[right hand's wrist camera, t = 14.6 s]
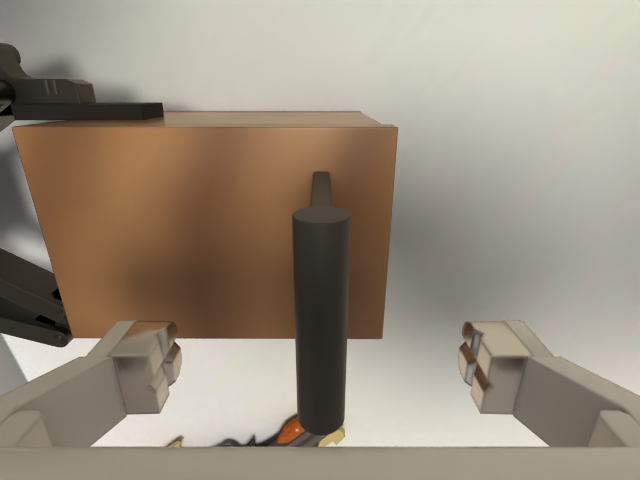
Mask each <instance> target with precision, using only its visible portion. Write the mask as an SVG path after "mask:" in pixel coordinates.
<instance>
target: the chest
mask: <svg viewBox="0 0 640 480" xmlns="http://www.w3.org/2000/svg"><path fill="white" fill-rule="evenodd" d="M163 112H164V117H158V118H152V119H146V120H66V121H57V122H49V123H40V124H224V125H382V124H380V123H378V122H376V121H375V120H373V119H371V118H369V117H368V116H366V115H364V114H362V113H361V112H360V111H163Z"/></svg>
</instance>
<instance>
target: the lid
mask: <svg viewBox="0 0 640 480" xmlns="http://www.w3.org/2000/svg"><path fill="white" fill-rule="evenodd" d="M12 130H13V134H14V137H15V141H16V144H17V148H18V151H19V154H20V158H21V161H22V165H23V168H24V172H25V175H26V178H27V182H28V185H29V189H30V192H31V196H32V199H33V202H34V206H35V209H36V213H37V216H38V220H39V223H40V226H41V230H42V233H43V237H44V240H45V244H46V247H47V250H48V254H49V257H50V261H51V264H52V268H53V271H54V274H55V278H56V281H57V285H58V288H59V292H60V295H61V298H62V302H63V305H64V309H65V312H66V316H67V319H68V322H69V326H70V329H71V333H72V336H73V338H103V336H104V335H105V334H106V333H107V332H108V331H109V330H110V329H111V327H112V326H113V325H114V324H115V323H116V322H118V321H129V320H136V321H173V322H174V323H175V324H176V326H177V331H178V336H177V337H176V338H222V339H296V374H297V410H298V421H299V424H300V425H301V427H302V428H303V429H304V430H305V431H307V432H308V433H311V434H313V435H319V436H324V435H329V434H332V433H334V432H336V431H337V430H338V429H339V428H340V427H341V426H342V424H343V422H344V414H345V383H346V353H347V339H382V336H383V322H384V309H385V296H386V282H387V269H388V255H389V242H390V229H391V215H392V202H393V188H394V175H395V162H396V148H397V135H398V127H396V126H393V125H224V124H31V125H23V126H14V127H12Z"/></svg>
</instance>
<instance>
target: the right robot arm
mask: <svg viewBox="0 0 640 480" xmlns="http://www.w3.org/2000/svg"><path fill="white" fill-rule="evenodd" d="M177 336H178V331H177V326H176V324H175V323H174V322H173V321H136V320H129V321H118V322H116V323H115V324H114V325H113V326H112V327H111V329H110V330H109V331H108V332H107V333H106V334H105V335H104V336H103V338H102V339H101V340H100V341H99V342H98V343H97V344H96V345H95V347H94V348H93V349H92V350H91V351H90V352H89V353H88V354H87V356H86V357H78V358H76V359H74V360H72V361H70V362H68V363H66V364H64V365H62V366H60V367H58V368H56V369H54V370H52V371H50V372H48V373H46V374H44V375H42V376H40V377H38V378H36V379H33V380H31V381H29V382H27V383H25V384H23V385H21V386H19V387H17V388H15V389H13V390H11V391H9V392H7V393H5V394H3V395H1V396H0V480H640V396H639V395H637V394H635V393H633V392H631V391H629V390H627V389H625V388H623V387H621V386H619V385H617V384H614V383H612V382H610V381H608V380H606V379H604V378H602V377H600V376H598V375H596V374H594V373H592V372H590V371H588V370H586V369H584V368H582V367H580V366H578V365H576V364H574V363H572V362H570V361H568V360H566V359H564V358H562V357H554V356H553V354H552V353H551V352H550V351H549V350H548V349H547V348H546V347H545V345H544V344H543V343H542V342H541V341H540V340H539V339H538V338H537V336H536V335H535V334H534V333H533V332H532V331H531V330H530V329H529V327H528V326H527V325H526V324H525V323H524V322H522V321H520V320H512V321H482V322H465V324H464V326H463V330H462V336H463V337H464V339H465V341H466V342H465V343H464V344H463V345H462V346H461V347H460V348H459V356H458V361H459V369H460V373H461V376H462V378H463V380H464V382H466V383H467V384H468V385H470V386H471V387H472V389H471V396H472V398H473V400H474V402H475V404H476V406H477V408H478V410H479V412H480V414H514V415H513V416H514V417H515V418H516V419H518V420H519V421H520V422H521V423H522V424H524V425H525V426H526V427H527V428H528V429H530V430H531V431H532V432H533V433H534V434H536V435H537V436H538V437H539V438H540V439H542V440H543V441H544V442H545V443H546V444H548V445H549V446H550V447H90V446H91V445H92V444H94V443H95V442H96V441H97V440H99V439H100V438H101V437H102V436H103V435H105V434H106V433H107V432H108V431H109V430H111V429H112V428H113V427H114V426H115V425H117V424H118V423H119V422H120V421H121V420H123V419H124V418H125V417H126V416H127V415H126V414H160V412H161V410H162V408H163V406H164V404H165V402H166V400H167V398H168V396H169V389H168V387H169V386H170V385H172V384H173V383H174V382H176V380H177V378H178V375H179V373H180V368H181V364H182V354H181V348H180V347H179V346H178V345H177V344H176V343H175V342H174V341H175V339H176V337H177Z"/></svg>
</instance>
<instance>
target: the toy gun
mask: <svg viewBox="0 0 640 480" xmlns="http://www.w3.org/2000/svg"><path fill="white" fill-rule="evenodd" d="M344 437H345V431H344V428H343V427H342V426H341V427H340V428H339V429H338V430H337V431H336V432H334V433H332V434H329V435H324V436H319V435H313V434H311V433H308V432H307V431H305V430H304V429H303V428H302V427H301V425H300V424H299V421H298V416H297V417H296V418H294V419H293V420H291V421H290V422H288V423H287V424H286V425H285V426H284V427H283V429H282V431H281V432H280V434H279V436H278V438H277V439H276V440H275V441H273V442H272V443H270V444H269V445H268V446H266V447H324V446H326V445H328V444H329V443H331V442H332V441H333V442H334V443H335V444H336V445H337V444H338V443H339V442H340V441H341V440H342V439H343V438H344ZM180 446H181V441H176V442H174V443H173V444H171V445H170V446H168V447H180ZM222 447H234V446H231V445H224V446H222ZM248 447H255V443H254V439H253V440H252V441H251V442H250V444H249V445H248Z"/></svg>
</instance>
